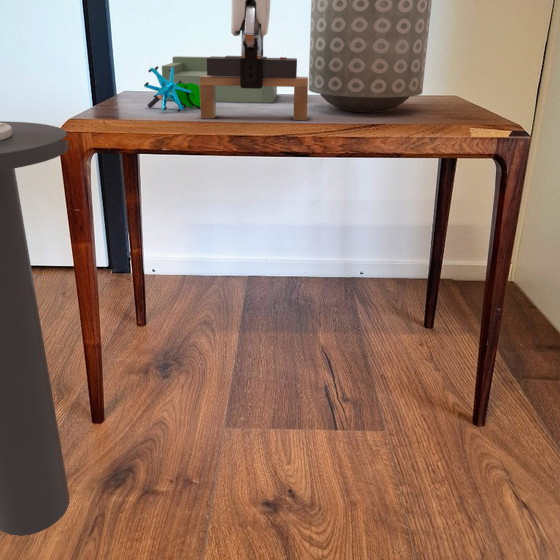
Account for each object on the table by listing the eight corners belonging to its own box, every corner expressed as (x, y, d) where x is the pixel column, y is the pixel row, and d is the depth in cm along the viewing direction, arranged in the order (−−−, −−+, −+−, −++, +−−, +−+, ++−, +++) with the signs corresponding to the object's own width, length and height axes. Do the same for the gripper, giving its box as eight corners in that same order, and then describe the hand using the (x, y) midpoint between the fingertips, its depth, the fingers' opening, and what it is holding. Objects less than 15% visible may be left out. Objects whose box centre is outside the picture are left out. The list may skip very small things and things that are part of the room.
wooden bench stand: (200, 118, 90) (199, 76, 87) (203, 115, 93) (202, 75, 90) (306, 120, 90) (308, 78, 87) (306, 117, 92) (307, 76, 90)
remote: (206, 75, 86) (206, 56, 85) (211, 73, 91) (210, 54, 90) (296, 77, 86) (297, 58, 85) (296, 75, 91) (296, 56, 90)
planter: (430, 118, 93) (445, -11, 86) (309, 116, 93) (313, -13, 86) (409, 103, 110) (419, -6, 103) (306, 101, 111) (310, -7, 103)
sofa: (272, 103, 108) (273, 61, 105) (163, 100, 108) (161, 59, 106) (276, 95, 118) (277, 58, 115) (177, 93, 119) (175, 56, 116)
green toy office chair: (157, 99, 91) (147, 55, 93) (132, 122, 96) (123, 79, 97) (216, 115, 100) (206, 74, 102) (191, 135, 104) (182, 96, 106)
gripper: (231, -46, 90) (232, 80, 97) (218, -61, 74) (221, 91, 81) (281, -45, 90) (278, 81, 97) (279, -60, 74) (276, 93, 81)
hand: (252, 84), depth 89 cm, fingers closed on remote, 5 cm apart
